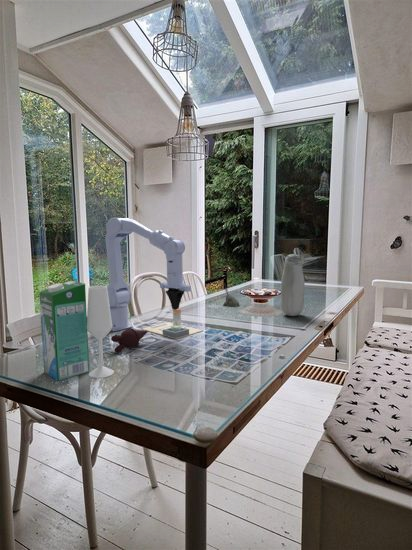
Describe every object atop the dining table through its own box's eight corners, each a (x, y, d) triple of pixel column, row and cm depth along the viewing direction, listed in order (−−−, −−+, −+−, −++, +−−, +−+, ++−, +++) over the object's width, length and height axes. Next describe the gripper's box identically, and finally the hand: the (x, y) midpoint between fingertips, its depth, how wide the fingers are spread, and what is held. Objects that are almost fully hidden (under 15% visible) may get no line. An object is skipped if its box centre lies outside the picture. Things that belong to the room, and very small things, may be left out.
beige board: (176, 338, 136) (176, 337, 136) (141, 329, 149) (141, 328, 149) (202, 331, 146) (202, 330, 146) (168, 322, 160) (168, 322, 160)
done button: (175, 335, 139) (175, 328, 138) (169, 333, 141) (168, 326, 141) (182, 333, 141) (182, 326, 141) (176, 331, 144) (176, 325, 143)
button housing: (175, 337, 136) (175, 333, 136) (162, 334, 141) (162, 329, 141) (189, 333, 141) (189, 329, 141) (176, 330, 146) (176, 326, 146)
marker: (177, 328, 149) (177, 310, 148) (171, 327, 151) (171, 308, 150) (182, 327, 151) (182, 308, 150) (176, 325, 153) (176, 307, 152)
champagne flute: (118, 372, 104) (115, 286, 101) (97, 379, 99) (93, 289, 96) (105, 366, 109) (101, 284, 106) (84, 373, 104) (79, 287, 101)
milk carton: (43, 372, 105) (38, 283, 102) (74, 363, 111) (70, 280, 108) (57, 381, 99) (52, 286, 96) (89, 371, 105) (85, 282, 102)
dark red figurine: (137, 322, 134) (103, 335, 123) (151, 320, 130) (117, 333, 118) (142, 341, 135) (109, 356, 123) (156, 339, 130) (123, 355, 118)
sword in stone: (243, 305, 197) (243, 282, 195) (236, 308, 190) (236, 285, 188) (226, 303, 202) (226, 281, 200) (219, 306, 196) (219, 283, 194)
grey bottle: (304, 318, 166) (306, 254, 162) (281, 317, 167) (282, 254, 164) (302, 313, 175) (304, 253, 172) (280, 312, 177) (281, 253, 174)
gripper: (196, 273, 136) (197, 309, 138) (169, 270, 146) (170, 304, 148) (182, 274, 131) (183, 313, 133) (155, 271, 141) (156, 307, 143)
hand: (175, 308), depth 140 cm, fingers closed
